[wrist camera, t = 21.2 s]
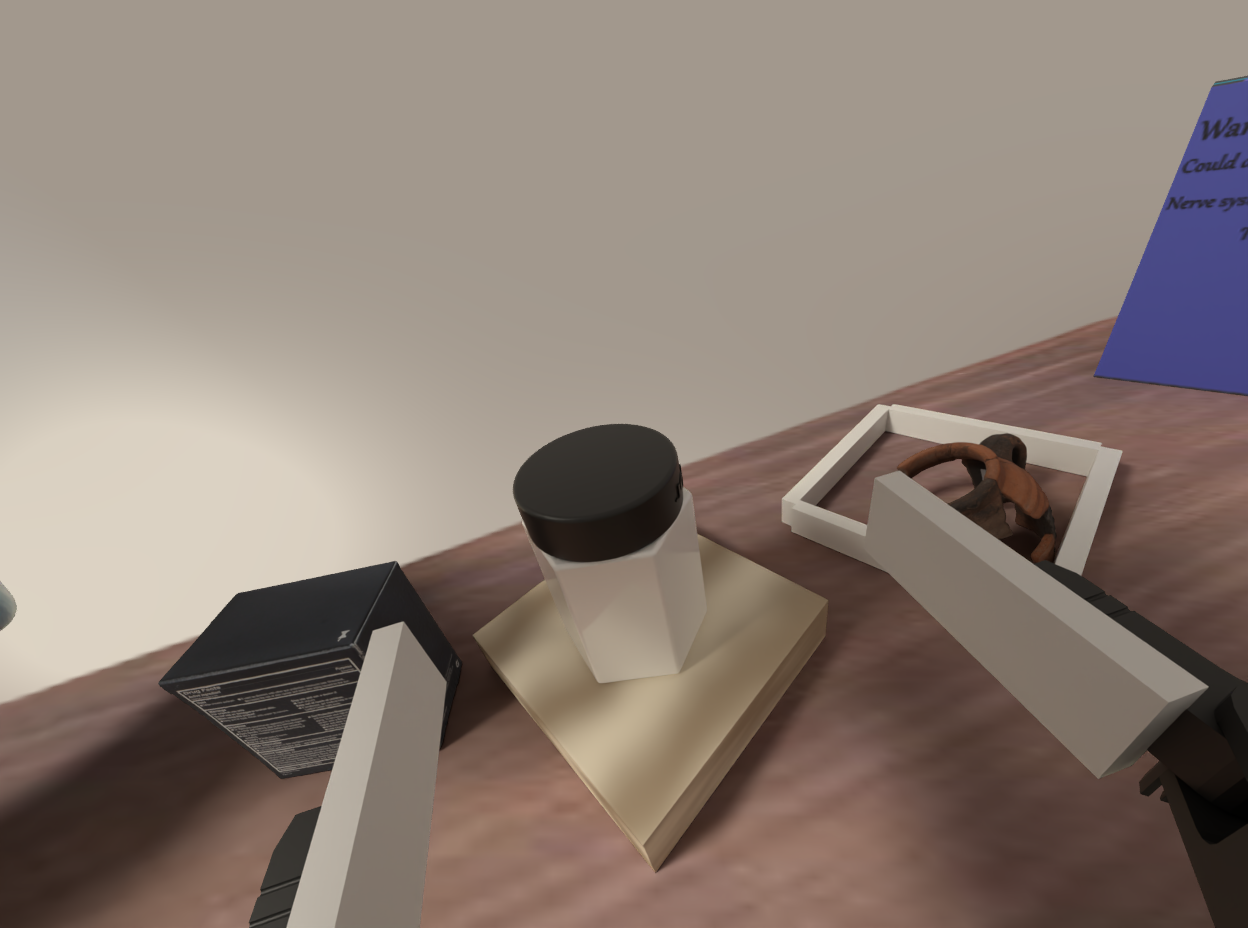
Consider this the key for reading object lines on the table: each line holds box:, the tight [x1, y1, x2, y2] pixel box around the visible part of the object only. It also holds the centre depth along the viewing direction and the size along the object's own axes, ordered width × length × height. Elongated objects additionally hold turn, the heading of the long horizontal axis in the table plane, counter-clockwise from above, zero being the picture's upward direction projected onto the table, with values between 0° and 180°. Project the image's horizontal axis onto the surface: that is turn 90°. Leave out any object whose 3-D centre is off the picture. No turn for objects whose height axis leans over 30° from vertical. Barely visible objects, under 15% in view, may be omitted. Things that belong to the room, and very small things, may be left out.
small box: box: [158, 561, 462, 779], centre depth 27 cm, size 11×6×10 cm, turn 95°
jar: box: [513, 424, 707, 683], centre depth 25 cm, size 9×8×12 cm
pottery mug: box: [897, 433, 1056, 563], centre depth 33 cm, size 12×10×8 cm
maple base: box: [473, 534, 829, 873], centre depth 29 cm, size 16×16×4 cm
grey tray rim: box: [782, 404, 1122, 576], centre depth 36 cm, size 17×19×2 cm
